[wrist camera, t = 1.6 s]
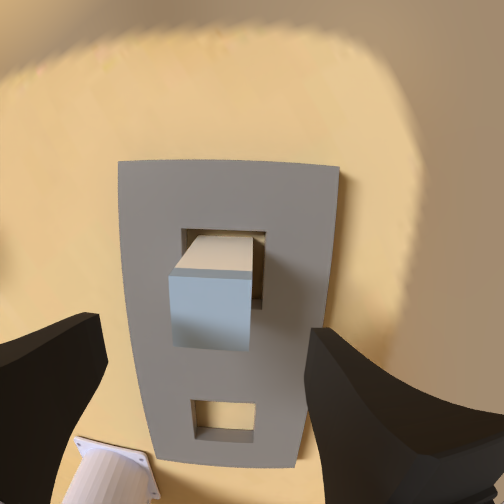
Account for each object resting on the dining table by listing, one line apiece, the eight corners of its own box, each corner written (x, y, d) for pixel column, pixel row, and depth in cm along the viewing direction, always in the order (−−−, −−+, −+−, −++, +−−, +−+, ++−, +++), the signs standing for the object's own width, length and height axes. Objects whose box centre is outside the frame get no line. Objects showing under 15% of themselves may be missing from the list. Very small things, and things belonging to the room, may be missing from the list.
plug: (250, 288, 20) (248, 351, 13) (198, 285, 20) (173, 346, 13) (253, 237, 19) (252, 279, 12) (198, 235, 19) (168, 275, 12)
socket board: (293, 455, 24) (294, 467, 23) (160, 447, 24) (156, 458, 23) (332, 166, 17) (339, 166, 16) (128, 161, 17) (117, 161, 16)
